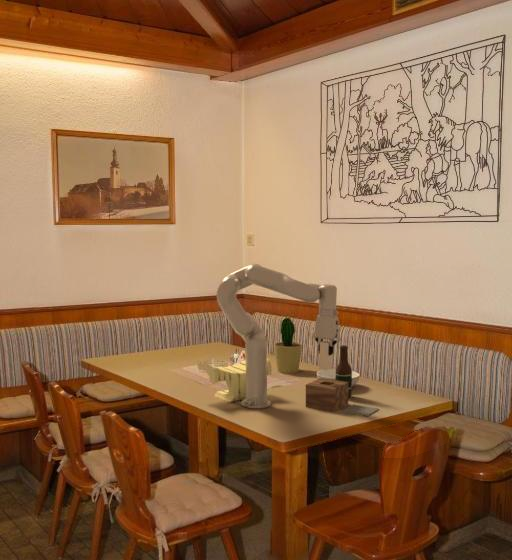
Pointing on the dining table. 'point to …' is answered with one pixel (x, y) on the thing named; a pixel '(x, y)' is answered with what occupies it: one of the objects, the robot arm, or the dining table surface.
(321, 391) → the wooden square ring
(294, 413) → the dining table surface
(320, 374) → the serving bowl
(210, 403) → the dining table surface
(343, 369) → the beer bottle
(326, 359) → the square peg
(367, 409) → the rubber mat
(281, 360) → the potted cactus
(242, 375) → the slatted curved stool
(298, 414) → the dining table surface
